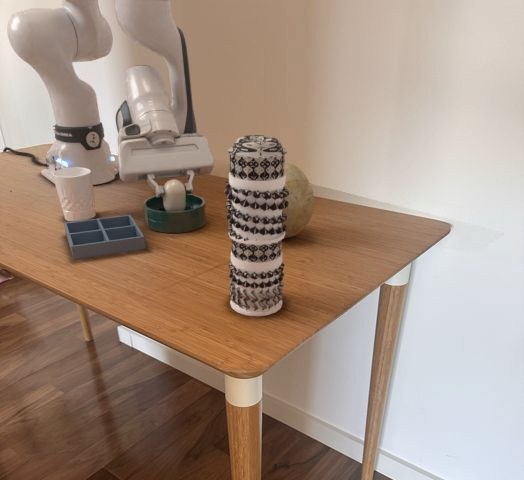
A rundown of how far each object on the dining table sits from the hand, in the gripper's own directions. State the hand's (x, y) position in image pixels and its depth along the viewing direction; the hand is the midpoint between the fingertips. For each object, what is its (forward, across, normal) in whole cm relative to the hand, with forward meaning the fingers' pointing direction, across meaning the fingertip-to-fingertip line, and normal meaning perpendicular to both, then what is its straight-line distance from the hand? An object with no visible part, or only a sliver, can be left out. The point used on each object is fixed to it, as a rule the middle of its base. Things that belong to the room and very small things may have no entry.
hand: (175, 194), depth 105 cm
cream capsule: (+3, 0, -4) cm, 5 cm away
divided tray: (+8, +16, -2) cm, 18 cm away
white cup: (-4, +19, -14) cm, 24 cm away
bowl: (+4, 0, -6) cm, 7 cm away
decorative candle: (+32, -2, +22) cm, 39 cm away
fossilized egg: (+15, -18, +5) cm, 24 cm away
